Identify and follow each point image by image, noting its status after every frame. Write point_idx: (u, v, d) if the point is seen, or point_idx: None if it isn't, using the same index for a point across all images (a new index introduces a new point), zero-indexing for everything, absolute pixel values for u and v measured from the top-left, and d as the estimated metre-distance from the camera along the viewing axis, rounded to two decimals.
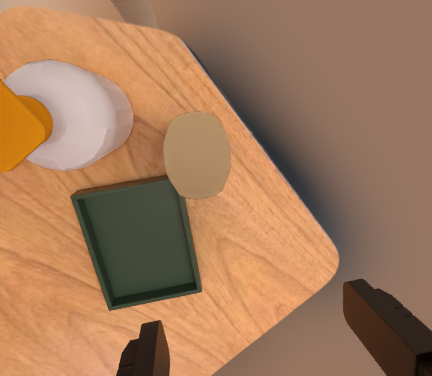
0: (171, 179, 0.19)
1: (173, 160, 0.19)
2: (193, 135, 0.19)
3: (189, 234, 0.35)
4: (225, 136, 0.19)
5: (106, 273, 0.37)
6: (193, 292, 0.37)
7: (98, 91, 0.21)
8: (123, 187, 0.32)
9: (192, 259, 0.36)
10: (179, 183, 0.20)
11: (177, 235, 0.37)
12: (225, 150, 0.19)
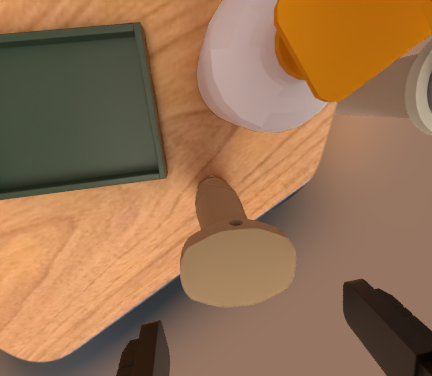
0: (211, 237, 0.14)
1: (238, 240, 0.14)
2: (267, 263, 0.14)
3: (81, 187, 0.25)
4: (262, 299, 0.15)
5: None
6: None
7: (304, 122, 0.17)
8: (152, 103, 0.23)
9: (38, 190, 0.24)
10: (205, 247, 0.14)
11: (76, 166, 0.26)
12: (245, 300, 0.15)
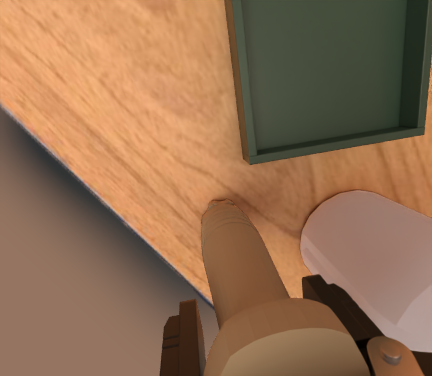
0: (363, 368, 0.07)
1: None
2: None
3: (238, 39, 0.16)
4: None
5: None
6: None
7: None
8: (342, 147, 0.19)
9: None
10: (345, 361, 0.07)
11: (258, 30, 0.18)
12: None
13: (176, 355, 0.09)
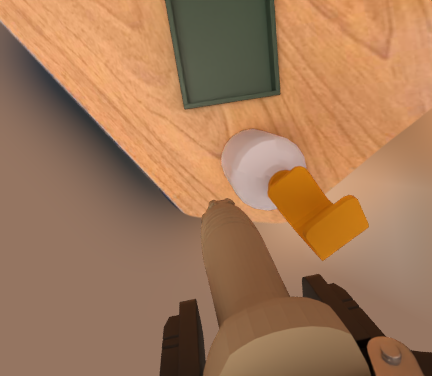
0: (363, 366, 0.07)
1: None
2: None
3: (174, 43, 0.32)
4: None
5: None
6: None
7: (239, 194, 0.31)
8: (235, 100, 0.35)
9: (170, 7, 0.31)
10: (346, 360, 0.07)
11: (187, 38, 0.34)
12: None
13: (176, 355, 0.09)
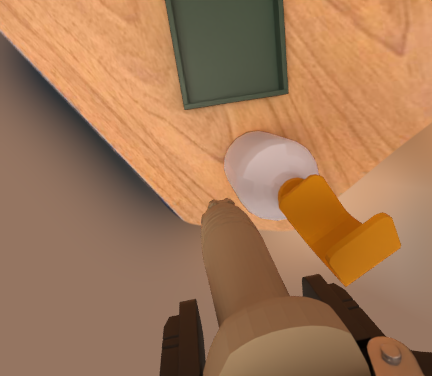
0: (363, 366, 0.07)
1: None
2: None
3: (173, 37, 0.30)
4: None
5: None
6: None
7: (244, 203, 0.28)
8: (239, 100, 0.33)
9: None
10: (346, 359, 0.07)
11: (187, 32, 0.31)
12: None
13: (176, 355, 0.09)
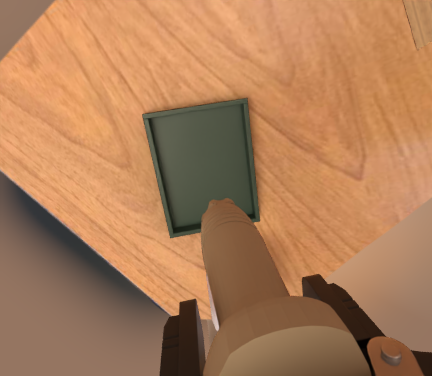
0: (364, 366, 0.07)
1: None
2: None
3: (159, 185, 0.35)
4: None
5: (244, 137, 0.36)
6: (152, 114, 0.32)
7: None
8: None
9: (155, 157, 0.34)
10: (346, 359, 0.07)
11: (172, 175, 0.37)
12: None
13: (176, 355, 0.09)
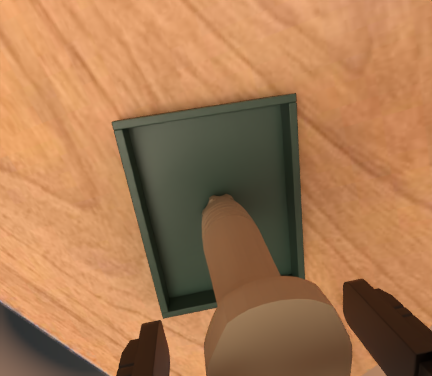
0: (344, 336, 0.08)
1: (333, 370, 0.09)
2: None
3: (144, 240, 0.21)
4: None
5: (285, 158, 0.22)
6: (129, 122, 0.18)
7: None
8: None
9: (136, 195, 0.20)
10: (329, 330, 0.08)
11: (166, 219, 0.23)
12: None
13: None
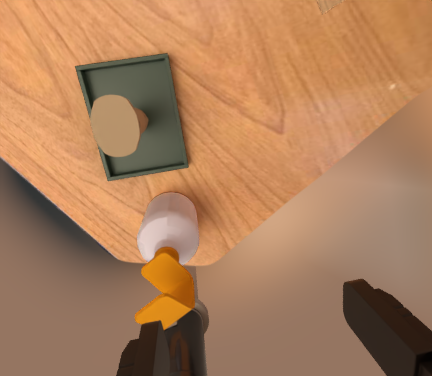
0: (133, 111, 0.28)
1: (132, 125, 0.28)
2: (119, 141, 0.28)
3: None
4: (97, 141, 0.28)
5: (170, 90, 0.41)
6: (83, 66, 0.37)
7: (143, 257, 0.38)
8: (150, 173, 0.43)
9: (89, 106, 0.39)
10: (127, 108, 0.27)
11: None
12: (95, 131, 0.28)
13: None
